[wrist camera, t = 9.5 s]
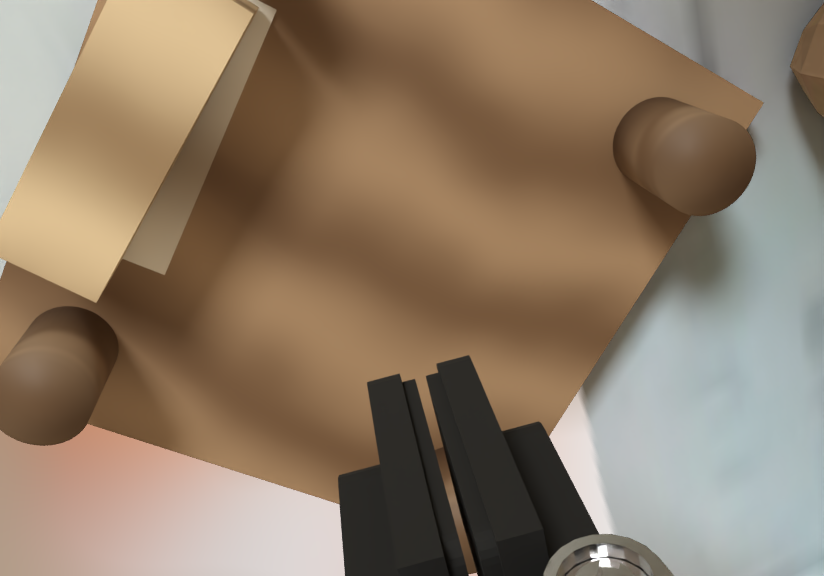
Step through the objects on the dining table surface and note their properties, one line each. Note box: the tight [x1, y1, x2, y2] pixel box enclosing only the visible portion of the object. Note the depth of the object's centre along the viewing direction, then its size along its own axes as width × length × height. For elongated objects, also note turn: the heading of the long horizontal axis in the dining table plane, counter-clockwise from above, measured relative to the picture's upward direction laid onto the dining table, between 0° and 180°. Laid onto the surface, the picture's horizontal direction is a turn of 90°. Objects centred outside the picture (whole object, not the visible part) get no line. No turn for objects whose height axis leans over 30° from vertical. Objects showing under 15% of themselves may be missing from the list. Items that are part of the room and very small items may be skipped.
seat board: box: [0, 0, 763, 574], centre depth 27 cm, size 22×22×6 cm
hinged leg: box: [0, 0, 259, 303], centre depth 23 cm, size 10×3×3 cm, turn 147°
